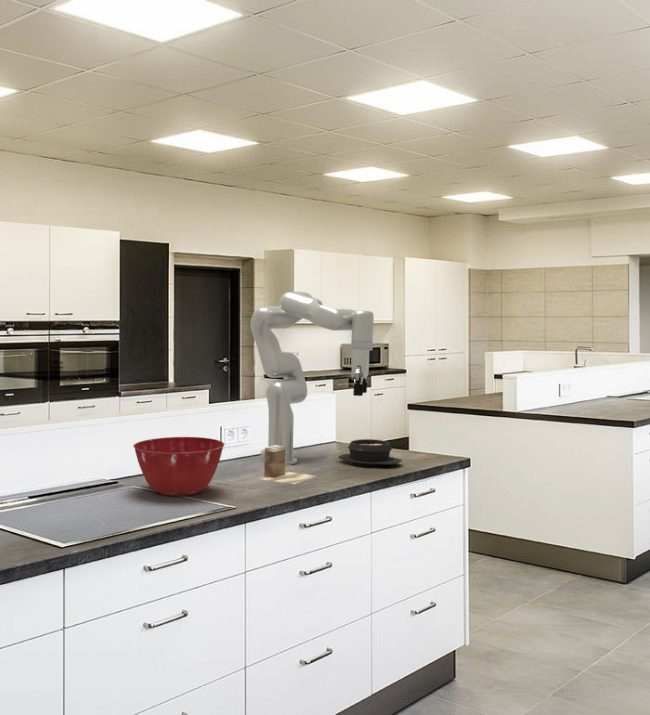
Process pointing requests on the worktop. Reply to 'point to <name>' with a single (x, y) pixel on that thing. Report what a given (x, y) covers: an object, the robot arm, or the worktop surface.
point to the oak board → (289, 478)
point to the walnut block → (274, 461)
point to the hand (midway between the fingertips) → (360, 394)
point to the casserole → (370, 453)
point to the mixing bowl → (178, 463)
